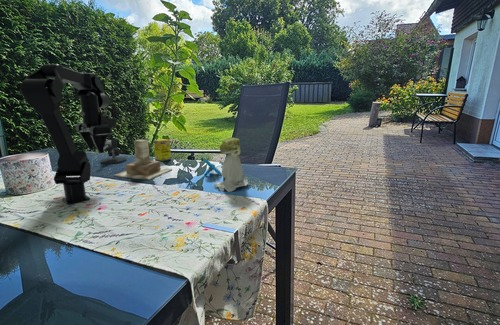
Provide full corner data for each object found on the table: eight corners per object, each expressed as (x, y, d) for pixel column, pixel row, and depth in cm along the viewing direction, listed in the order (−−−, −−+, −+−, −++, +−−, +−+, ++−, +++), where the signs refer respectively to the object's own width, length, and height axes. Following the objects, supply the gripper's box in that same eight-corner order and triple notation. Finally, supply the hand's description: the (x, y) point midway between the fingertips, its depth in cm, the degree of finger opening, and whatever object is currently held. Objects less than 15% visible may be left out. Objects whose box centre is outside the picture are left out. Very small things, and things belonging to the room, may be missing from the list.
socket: (172, 170, 128) (171, 160, 127) (149, 180, 113) (148, 169, 112) (139, 167, 134) (138, 157, 133) (114, 176, 119) (112, 165, 118)
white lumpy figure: (255, 185, 106) (255, 137, 102) (232, 194, 97) (231, 141, 92) (232, 179, 114) (231, 134, 109) (208, 187, 104) (206, 138, 100)
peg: (150, 170, 125) (147, 139, 121) (144, 173, 121) (141, 141, 118) (143, 170, 126) (140, 139, 123) (137, 172, 122) (133, 140, 119)
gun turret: (93, 168, 132) (89, 141, 129) (104, 159, 151) (100, 135, 148) (122, 166, 135) (118, 140, 132) (129, 157, 154) (126, 134, 151)
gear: (223, 174, 115) (205, 158, 113) (213, 185, 115) (195, 168, 113) (222, 171, 126) (205, 156, 124) (213, 180, 125) (196, 165, 124)
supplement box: (161, 162, 144) (160, 141, 141) (154, 160, 147) (153, 140, 145) (171, 160, 148) (169, 139, 146) (164, 158, 152) (162, 138, 149)
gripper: (123, 109, 102) (128, 151, 105) (103, 107, 114) (108, 145, 117) (90, 110, 94) (96, 155, 97) (72, 108, 106) (78, 149, 109)
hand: (96, 151), depth 106 cm, fingers open, 9 cm apart
